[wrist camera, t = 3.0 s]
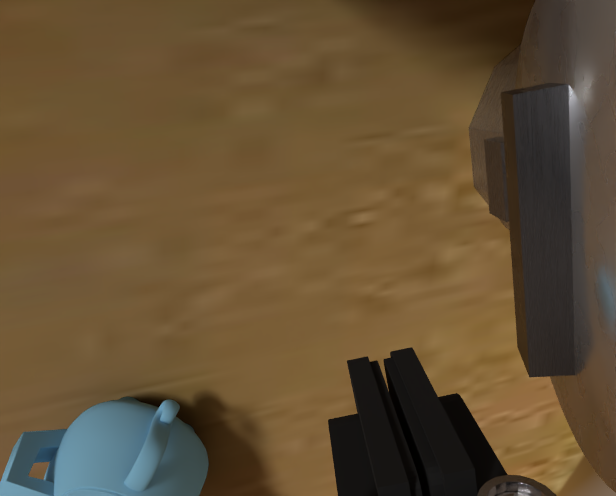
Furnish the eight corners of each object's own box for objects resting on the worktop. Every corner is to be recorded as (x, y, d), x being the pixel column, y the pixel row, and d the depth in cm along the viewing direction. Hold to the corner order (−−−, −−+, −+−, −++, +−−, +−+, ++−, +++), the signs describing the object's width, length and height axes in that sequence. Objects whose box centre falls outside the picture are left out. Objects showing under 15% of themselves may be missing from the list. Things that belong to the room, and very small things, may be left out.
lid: (523, 5, 24) (468, 18, 25) (819, -172, 7) (604, -111, 7) (539, 321, 30) (494, 324, 31) (716, 665, 13) (603, 653, 13)
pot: (429, -14, 33) (488, -59, 24) (700, -73, 33) (870, -144, 23) (463, 304, 41) (517, 364, 32) (680, 258, 41) (800, 306, 31)
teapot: (14, 460, 44) (-78, 582, 33) (89, 330, 40) (14, 419, 29) (196, 538, 48) (169, 670, 37) (280, 427, 45) (278, 537, 33)
